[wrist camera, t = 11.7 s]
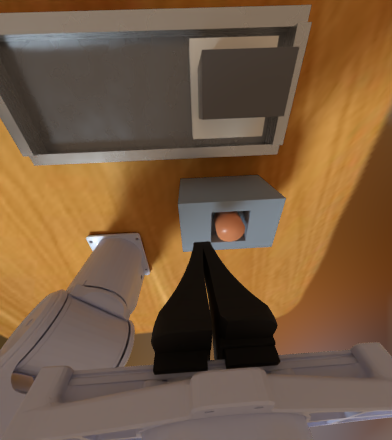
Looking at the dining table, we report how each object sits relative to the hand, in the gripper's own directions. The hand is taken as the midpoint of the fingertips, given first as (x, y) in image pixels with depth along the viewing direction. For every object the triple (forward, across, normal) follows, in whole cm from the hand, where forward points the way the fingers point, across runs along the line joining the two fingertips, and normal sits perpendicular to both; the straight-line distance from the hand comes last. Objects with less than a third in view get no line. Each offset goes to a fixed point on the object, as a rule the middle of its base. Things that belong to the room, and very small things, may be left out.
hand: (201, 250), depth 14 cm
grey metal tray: (+10, +4, -11) cm, 15 cm away
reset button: (+5, -3, 0) cm, 6 cm away
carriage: (+8, -3, -11) cm, 14 cm away
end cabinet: (+10, -3, 0) cm, 11 cm away
